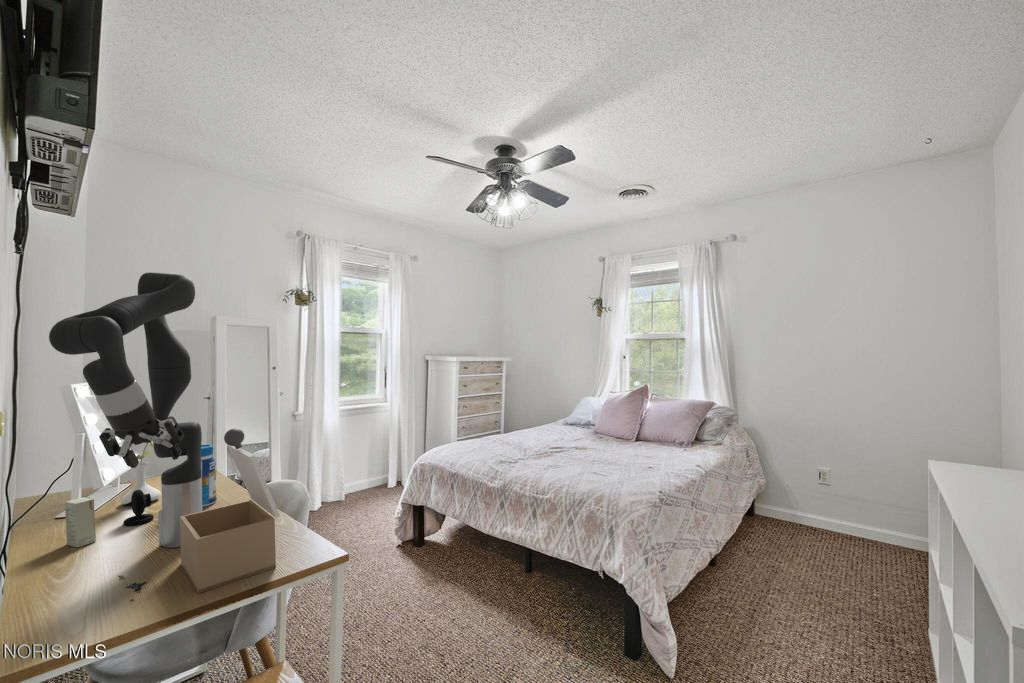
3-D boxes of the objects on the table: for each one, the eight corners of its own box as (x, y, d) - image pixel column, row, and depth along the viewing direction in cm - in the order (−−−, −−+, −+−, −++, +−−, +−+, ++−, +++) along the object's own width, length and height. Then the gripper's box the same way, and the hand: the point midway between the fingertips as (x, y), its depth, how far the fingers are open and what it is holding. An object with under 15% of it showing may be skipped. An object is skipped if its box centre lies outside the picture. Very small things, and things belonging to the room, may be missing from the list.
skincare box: (96, 541, 130) (95, 498, 130) (77, 548, 126) (75, 504, 126) (85, 538, 133) (83, 496, 133) (65, 544, 129) (64, 501, 129)
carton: (198, 593, 101) (196, 539, 101) (181, 563, 116) (179, 516, 116) (275, 567, 113) (274, 518, 113) (251, 543, 127) (250, 499, 127)
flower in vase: (144, 507, 157) (142, 434, 157) (111, 508, 157) (109, 435, 157) (173, 494, 170) (171, 427, 170) (142, 495, 170) (140, 428, 170)
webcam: (156, 521, 145) (155, 489, 145) (125, 528, 139) (124, 495, 139) (150, 515, 150) (150, 484, 150) (121, 522, 144) (120, 490, 144)
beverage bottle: (182, 506, 158) (181, 448, 158) (208, 498, 165) (207, 442, 165) (196, 510, 154) (195, 450, 154) (222, 501, 161) (220, 445, 161)
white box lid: (232, 439, 106) (252, 430, 109) (211, 428, 121) (229, 420, 124) (269, 522, 111) (287, 511, 114) (244, 502, 126) (261, 493, 129)
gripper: (168, 388, 102) (196, 444, 110) (95, 400, 100) (129, 457, 107) (154, 407, 96) (184, 465, 104) (76, 420, 93) (113, 480, 101)
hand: (156, 461), depth 105 cm, fingers open, 8 cm apart
